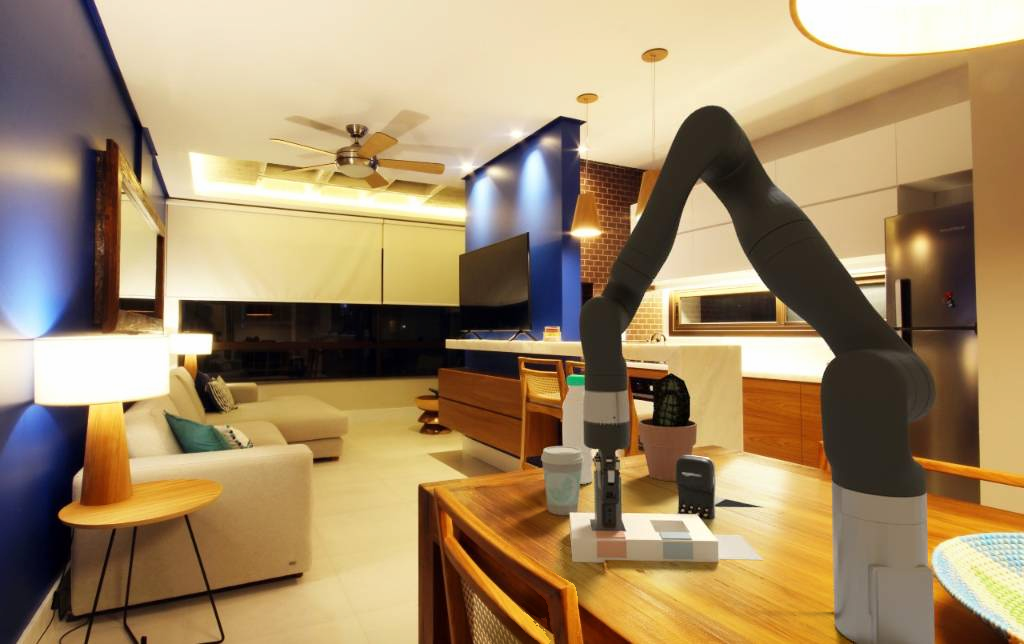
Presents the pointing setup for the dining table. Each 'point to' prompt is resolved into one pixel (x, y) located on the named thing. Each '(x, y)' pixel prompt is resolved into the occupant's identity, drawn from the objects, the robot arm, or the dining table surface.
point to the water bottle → (576, 424)
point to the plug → (599, 507)
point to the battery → (696, 486)
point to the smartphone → (731, 503)
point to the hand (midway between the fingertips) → (607, 521)
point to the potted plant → (668, 428)
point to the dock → (643, 539)
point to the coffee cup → (562, 478)
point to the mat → (735, 548)
